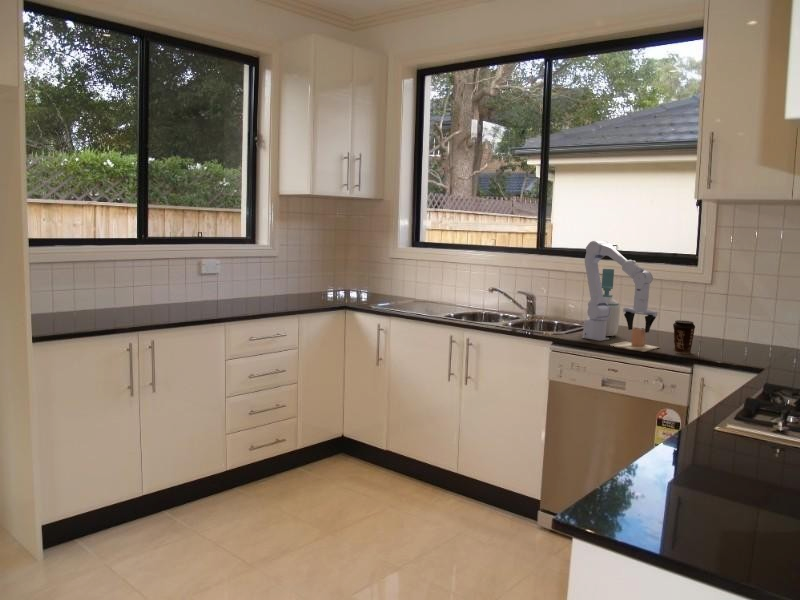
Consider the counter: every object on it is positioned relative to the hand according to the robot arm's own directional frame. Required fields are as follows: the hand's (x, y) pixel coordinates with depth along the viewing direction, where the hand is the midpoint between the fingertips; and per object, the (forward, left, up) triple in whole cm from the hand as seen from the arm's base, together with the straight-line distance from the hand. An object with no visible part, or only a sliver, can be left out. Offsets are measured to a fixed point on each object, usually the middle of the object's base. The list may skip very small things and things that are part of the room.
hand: (638, 330), depth 294 cm
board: (0, -3, -7) cm, 7 cm away
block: (0, 0, -6) cm, 6 cm away
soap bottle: (-24, +14, -7) cm, 29 cm away
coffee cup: (+18, +3, -7) cm, 20 cm away
